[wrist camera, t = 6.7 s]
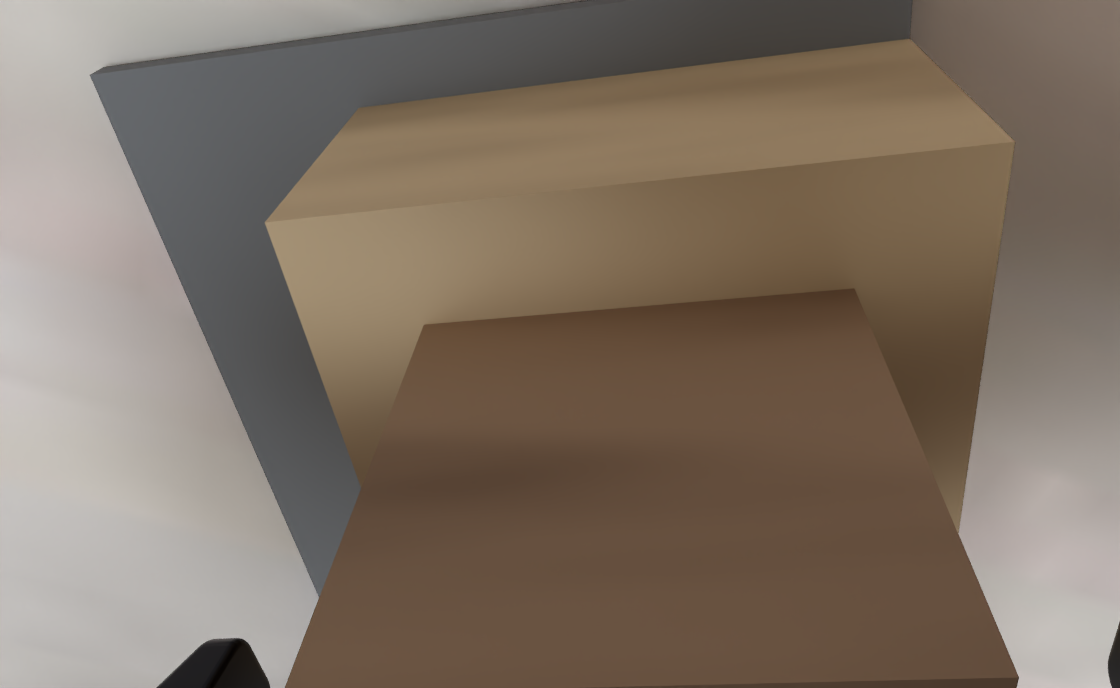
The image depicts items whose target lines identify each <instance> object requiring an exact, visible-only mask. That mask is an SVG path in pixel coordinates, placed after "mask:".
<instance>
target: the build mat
mask: <svg viewBox="0 0 1120 688" xmlns="http://www.w3.org/2000/svg"><path fill="white" fill-rule="evenodd" d="M911 14H912V0H587V1H580V2H573V3H566V4H558V5H551V6H544V7H537V8H529V9H522V10H515V11H508V12H501V13H493V14H486V15H479V16H472V17H464V18H457V19H450V20H443V21H436V22H428V23H421V24H414V25H407V26H399V27H392V28H385V29H378V30H371V31H363V32H356V33H349V34H342V35H334V36H327V37H320V38H313V39H306V40H298V41H291V42H284V43H277V44H269V45H262V46H255V47H248V48H241V49H233V50H226V51H219V52H212V53H204V54H197V55H190V56H183V57H175V58H168V59H161V60H154V61H147V62H139V63H132V64H125V65H118V66H110V67H103V68H102V69H100V70H98V71H96V72H94V73H93V74H91V75H90V76H91V79H92V81H93V83H94V86H95V88H96V90H97V92H98V95H99V97H100V99H101V101H102V104H103V106H104V108H105V111H106V113H107V115H108V117H109V120H110V122H111V124H112V127H113V129H114V131H115V133H116V136H117V138H118V140H119V142H120V145H121V147H122V149H123V152H124V154H125V156H126V158H127V161H128V163H129V165H130V168H131V170H132V172H133V174H134V177H135V179H136V181H137V183H138V186H139V188H140V190H141V193H142V195H143V197H144V199H145V202H146V204H147V206H148V209H149V211H150V213H151V215H152V218H153V220H154V222H155V224H156V227H157V229H158V231H159V234H160V236H161V238H162V240H163V243H164V245H165V247H166V250H167V252H168V254H169V256H170V259H171V261H172V263H173V265H174V268H175V270H176V272H177V275H178V277H179V279H180V281H181V284H182V286H183V288H184V291H185V293H186V295H187V297H188V300H189V302H190V304H191V306H192V309H193V311H194V313H195V316H196V318H197V320H198V322H199V325H200V327H201V329H202V332H203V334H204V336H205V338H206V341H207V343H208V345H209V347H210V350H211V352H212V354H213V357H214V359H215V361H216V363H217V366H218V368H219V370H220V373H221V375H222V377H223V379H224V382H225V384H226V386H227V388H228V391H229V393H230V395H231V398H232V400H233V402H234V404H235V407H236V409H237V411H238V414H239V416H240V418H241V420H242V423H243V425H244V427H245V429H246V432H247V434H248V436H249V439H250V441H251V443H252V445H253V448H254V450H255V452H256V455H257V457H258V459H259V461H260V464H261V466H262V468H263V470H264V473H265V475H266V477H267V480H268V482H269V484H270V486H271V489H272V491H273V493H274V496H275V498H276V500H277V502H278V505H279V507H280V509H281V511H282V514H283V516H284V518H285V521H286V523H287V525H288V527H289V530H290V532H291V534H292V537H293V539H294V541H295V543H296V546H297V548H298V550H299V552H300V555H301V557H302V559H303V562H304V564H305V566H306V568H307V571H308V573H309V575H310V577H311V580H312V582H313V584H314V587H315V589H316V591H317V593H318V596H319V597H320V595H321V592H322V589H323V587H324V584H325V581H326V579H327V576H328V574H329V571H330V568H331V566H332V563H333V561H334V558H335V555H336V553H337V550H338V548H339V545H340V542H341V540H342V537H343V534H344V532H345V529H346V527H347V524H348V521H349V519H350V516H351V514H352V511H353V508H354V506H355V503H356V501H357V498H358V495H359V493H360V490H361V486H360V483H359V481H358V478H357V475H356V472H355V470H354V467H353V464H352V461H351V459H350V456H349V453H348V450H347V448H346V445H345V442H344V439H343V437H342V434H341V431H340V428H339V426H338V423H337V420H336V417H335V415H334V412H333V409H332V406H331V404H330V401H329V398H328V395H327V393H326V390H325V387H324V384H323V382H322V379H321V376H320V373H319V371H318V368H317V365H316V362H315V360H314V357H313V354H312V351H311V349H310V346H309V343H308V340H307V338H306V335H305V332H304V329H303V327H302V324H301V321H300V318H299V316H298V313H297V310H296V307H295V305H294V302H293V299H292V296H291V294H290V291H289V288H288V285H287V283H286V280H285V277H284V274H283V272H282V269H281V266H280V263H279V261H278V258H277V255H276V252H275V249H274V247H273V244H272V241H271V238H270V236H269V233H268V230H267V227H266V225H265V221H266V220H267V219H268V218H269V217H270V215H271V214H272V213H273V212H274V210H275V209H276V208H277V207H278V206H279V204H280V203H281V202H282V201H283V200H284V198H285V197H286V196H287V195H288V193H289V192H290V191H291V190H292V189H293V187H294V186H295V185H296V184H297V183H298V181H299V180H300V179H301V178H302V176H303V175H304V174H305V173H306V172H307V170H308V169H309V168H310V167H311V166H312V164H313V163H314V162H315V161H316V159H317V158H318V157H319V156H320V155H321V153H322V152H323V151H324V150H325V148H326V147H327V146H328V145H329V144H330V142H331V141H332V140H333V139H334V138H335V136H336V135H337V134H338V133H339V131H340V130H341V129H342V128H343V127H344V125H345V124H346V123H347V122H348V121H349V119H350V118H351V117H352V116H353V114H354V113H355V112H356V111H357V110H358V108H362V107H369V106H377V105H385V104H393V103H401V102H409V101H417V100H425V99H433V98H441V97H449V96H457V95H465V94H473V93H481V92H489V91H497V90H505V89H513V88H521V87H529V86H537V85H545V84H553V83H561V82H569V81H577V80H585V79H593V78H601V77H608V76H616V75H624V74H632V73H640V72H648V71H656V70H664V69H672V68H680V67H688V66H696V65H704V64H712V63H720V62H728V61H736V60H744V59H752V58H760V57H768V56H776V55H784V54H792V53H800V52H808V51H816V50H824V49H832V48H840V47H848V46H855V45H863V44H871V43H879V42H887V41H895V40H903V39H910V28H911Z"/></svg>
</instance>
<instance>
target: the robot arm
mask: <svg viewBox="0 0 1120 688" xmlns="http://www.w3.org/2000/svg"><path fill="white" fill-rule="evenodd" d="M1108 673H1109V678H1110V683H1111V686H1112V688H1120V623H1119V626H1118V629H1117V632H1116V636H1115V639H1114V642H1113V645H1112V649H1111V652H1110V655H1109V660H1108ZM157 688H270V685H269V681H268V679H267V677H266V675H265V673H264V672H263V670H262V668H261V666H260V664H259V662H258V660H257V658H256V656H255V654H254V653H253V651H252V649H251V647H250V645H249V644H248V642H246V641H245V640H243V639H240V638H230V639H213V640H209V641H207V642H205V643H204V644H202V645H201V646H200V647H198V648H197V649H196V650H195V651H194V652H193V653H192V654H191V655H190V656H189V657H188V658H187V659H186V660H185V661H184V662H183V663H182V664H181V665H180V666H179V667H178V668H177V669H176V670H174V671H173V672H172V673H171V674H170V675H169V676H168V677H167V678H166V679H165V680H164V681H163V682H162V683H161V684H160V685H159V686H158V687H157Z"/></svg>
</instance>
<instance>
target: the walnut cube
mask: <svg viewBox="0 0 1120 688" xmlns="http://www.w3.org/2000/svg"><path fill="white" fill-rule="evenodd" d="M1018 679H1019V677H1018V674H1017V672H1016V669H1015V667H1014V665H1013V662H1012V660H1011V658H1010V655H1009V653H1008V651H1007V648H1006V646H1005V643H1004V641H1003V639H1002V636H1001V634H1000V632H999V629H998V627H997V625H996V622H995V620H994V617H993V615H992V613H991V610H990V608H989V606H988V603H987V601H986V599H985V596H984V594H983V591H982V589H981V587H980V584H979V582H978V580H977V577H976V575H975V572H974V570H973V568H972V565H971V563H970V561H969V558H968V556H967V554H966V551H965V549H964V546H963V544H962V542H961V539H960V537H959V535H958V532H957V530H956V528H955V525H954V523H953V520H952V518H951V516H950V513H949V511H948V509H947V506H946V504H945V501H944V499H943V497H942V494H941V492H940V490H939V487H938V485H937V483H936V480H935V478H934V475H933V473H932V471H931V468H930V466H929V464H928V461H927V459H926V457H925V454H924V452H923V449H922V447H921V445H920V442H919V440H918V438H917V435H916V433H915V431H914V428H913V426H912V423H911V421H910V419H909V416H908V414H907V412H906V409H905V407H904V404H903V402H902V400H901V397H900V395H899V393H898V390H897V388H896V386H895V383H894V381H893V378H892V376H891V374H890V371H889V369H888V367H887V364H886V362H885V360H884V357H883V355H882V352H881V350H880V348H879V345H878V343H877V341H876V338H875V336H874V333H873V331H872V329H871V326H870V324H869V322H868V319H867V317H866V315H865V312H864V310H863V307H862V305H861V303H860V300H859V298H858V296H857V293H856V291H855V289H854V288H853V289H841V290H829V291H817V292H805V293H793V294H782V295H770V296H758V297H746V298H734V299H722V300H710V301H699V302H687V303H675V304H663V305H651V306H639V307H627V308H615V309H604V310H592V311H580V312H568V313H556V314H544V315H532V316H520V317H509V318H497V319H485V320H473V321H461V322H449V323H437V324H425V325H424V326H423V328H422V331H421V333H420V336H419V339H418V341H417V344H416V346H415V349H414V352H413V354H412V357H411V360H410V362H409V365H408V367H407V370H406V373H405V375H404V378H403V380H402V383H401V386H400V388H399V391H398V393H397V396H396V399H395V401H394V404H393V407H392V409H391V412H390V414H389V417H388V420H387V422H386V425H385V427H384V430H383V433H382V435H381V438H380V440H379V443H378V446H377V448H376V451H375V454H374V456H373V459H372V461H371V464H370V467H369V469H368V472H367V474H366V477H365V480H364V482H363V485H362V487H361V490H360V493H359V495H358V498H357V501H356V503H355V506H354V508H353V511H352V514H351V516H350V519H349V521H348V524H347V527H346V529H345V532H344V534H343V537H342V540H341V542H340V545H339V548H338V550H337V553H336V555H335V558H334V561H333V563H332V566H331V568H330V571H329V574H328V576H327V579H326V581H325V584H324V587H323V589H322V592H321V595H320V597H319V600H318V602H317V605H316V608H315V610H314V613H313V615H312V618H311V621H310V623H309V626H308V628H307V631H306V634H305V636H304V639H303V642H302V644H301V647H300V649H299V652H298V655H297V657H296V660H295V662H294V665H293V668H292V670H291V673H290V675H289V678H288V681H287V683H286V686H285V688H1017V683H1018Z"/></svg>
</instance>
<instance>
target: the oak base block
mask: <svg viewBox="0 0 1120 688" xmlns="http://www.w3.org/2000/svg"><path fill="white" fill-rule="evenodd" d="M1014 146H1015V141H1014V140H1013V139H1012V138H1011V137H1010V136H1009V135H1008V134H1007V133H1006V132H1005V131H1004V130H1003V129H1002V128H1001V127H1000V126H999V125H998V124H997V123H996V122H994V121H993V120H992V119H991V118H990V117H989V116H988V115H987V114H986V113H985V112H984V111H983V110H982V109H981V108H980V107H979V106H978V105H977V104H976V103H975V102H974V101H973V100H972V99H971V98H970V97H969V96H968V95H967V94H966V93H965V92H964V91H963V90H962V89H961V88H960V87H959V86H958V85H957V84H956V83H955V82H954V81H953V80H951V79H950V78H949V77H948V76H947V75H946V74H945V73H944V72H943V71H942V70H941V69H940V68H939V67H938V66H937V65H936V64H935V63H934V62H933V61H932V60H931V59H930V58H929V57H928V56H927V55H926V54H925V53H924V52H923V51H922V50H921V49H920V48H919V47H918V46H917V45H916V44H915V43H914V42H913V41H912V40H911V39H903V40H895V41H887V42H879V43H871V44H863V45H855V46H848V47H840V48H832V49H824V50H816V51H808V52H800V53H792V54H784V55H776V56H768V57H760V58H752V59H744V60H736V61H728V62H720V63H712V64H704V65H696V66H688V67H680V68H672V69H664V70H656V71H648V72H640V73H632V74H624V75H616V76H608V77H601V78H593V79H585V80H577V81H569V82H561V83H553V84H545V85H537V86H529V87H521V88H513V89H505V90H497V91H489V92H481V93H473V94H465V95H457V96H449V97H441V98H433V99H425V100H417V101H409V102H401V103H393V104H385V105H377V106H369V107H362V108H358V110H357V111H356V112H355V113H354V114H353V116H352V117H351V118H350V119H349V121H348V122H347V123H346V124H345V125H344V127H343V128H342V129H341V130H340V131H339V133H338V134H337V135H336V136H335V138H334V139H333V140H332V141H331V142H330V144H329V145H328V146H327V147H326V148H325V150H324V151H323V152H322V153H321V155H320V156H319V157H318V158H317V159H316V161H315V162H314V163H313V164H312V166H311V167H310V168H309V169H308V170H307V172H306V173H305V174H304V175H303V176H302V178H301V179H300V180H299V181H298V183H297V184H296V185H295V186H294V187H293V189H292V190H291V191H290V192H289V193H288V195H287V196H286V197H285V198H284V200H283V201H282V202H281V203H280V204H279V206H278V207H277V208H276V209H275V210H274V212H273V213H272V214H271V215H270V217H269V218H268V219H267V220H266V221H265V225H266V227H267V230H268V233H269V236H270V238H271V241H272V244H273V247H274V249H275V252H276V255H277V258H278V261H279V263H280V266H281V269H282V272H283V274H284V277H285V280H286V283H287V285H288V288H289V291H290V294H291V296H292V299H293V302H294V305H295V307H296V310H297V313H298V316H299V318H300V321H301V324H302V327H303V329H304V332H305V335H306V338H307V340H308V343H309V346H310V349H311V351H312V354H313V357H314V360H315V362H316V365H317V368H318V371H319V373H320V376H321V379H322V382H323V384H324V387H325V390H326V393H327V395H328V398H329V401H330V404H331V406H332V409H333V412H334V415H335V417H336V420H337V423H338V426H339V428H340V431H341V434H342V437H343V439H344V442H345V445H346V448H347V450H348V453H349V456H350V459H351V461H352V464H353V467H354V470H355V472H356V475H357V478H358V481H359V483H360V486H361V487H362V485H363V482H364V480H365V477H366V474H367V472H368V469H369V467H370V464H371V461H372V459H373V456H374V454H375V451H376V448H377V446H378V443H379V440H380V438H381V435H382V433H383V430H384V427H385V425H386V422H387V420H388V417H389V414H390V412H391V409H392V407H393V404H394V401H395V399H396V396H397V393H398V391H399V388H400V386H401V383H402V380H403V378H404V375H405V373H406V370H407V367H408V365H409V362H410V360H411V357H412V354H413V352H414V349H415V346H416V344H417V341H418V339H419V336H420V333H421V331H422V328H423V326H424V325H425V324H437V323H449V322H461V321H473V320H485V319H497V318H509V317H520V316H532V315H544V314H556V313H568V312H580V311H592V310H604V309H615V308H627V307H639V306H651V305H663V304H675V303H687V302H699V301H710V300H722V299H734V298H746V297H758V296H770V295H782V294H793V293H805V292H817V291H829V290H841V289H853V288H854V289H855V291H856V293H857V296H858V298H859V300H860V303H861V305H862V307H863V310H864V312H865V315H866V317H867V319H868V322H869V324H870V326H871V329H872V331H873V333H874V336H875V338H876V341H877V343H878V345H879V348H880V350H881V352H882V355H883V357H884V360H885V362H886V364H887V367H888V369H889V371H890V374H891V376H892V378H893V381H894V383H895V386H896V388H897V390H898V393H899V395H900V397H901V400H902V402H903V404H904V407H905V409H906V412H907V414H908V416H909V419H910V421H911V423H912V426H913V428H914V431H915V433H916V435H917V438H918V440H919V442H920V445H921V447H922V449H923V452H924V454H925V457H926V459H927V461H928V464H929V466H930V468H931V471H932V473H933V475H934V478H935V480H936V483H937V485H938V487H939V490H940V492H941V494H942V497H943V499H944V501H945V504H946V506H947V509H948V511H949V513H950V516H951V518H952V520H953V523H954V525H955V528H956V530H957V532H959V525H960V518H961V511H962V505H963V498H964V491H965V484H966V477H967V470H968V463H969V456H970V449H971V442H972V436H973V429H974V422H975V415H976V408H977V401H978V394H979V387H980V380H981V373H982V367H983V360H984V353H985V346H986V339H987V332H988V325H989V318H990V311H991V304H992V298H993V291H994V284H995V277H996V270H997V263H998V256H999V249H1000V242H1001V235H1002V229H1003V222H1004V215H1005V208H1006V201H1007V194H1008V187H1009V180H1010V173H1011V167H1012V160H1013V153H1014Z"/></svg>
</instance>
